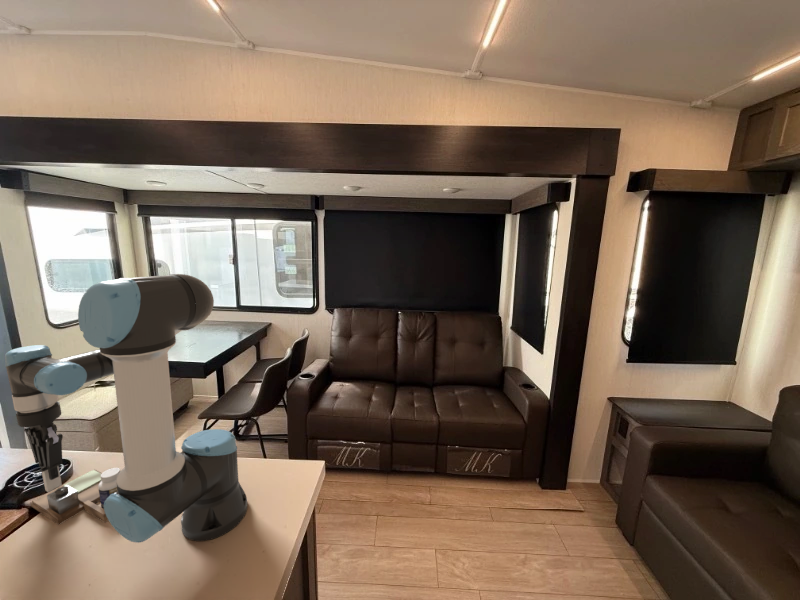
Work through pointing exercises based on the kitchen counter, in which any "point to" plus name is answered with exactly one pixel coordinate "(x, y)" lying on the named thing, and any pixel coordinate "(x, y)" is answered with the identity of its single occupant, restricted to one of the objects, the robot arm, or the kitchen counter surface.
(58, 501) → the latch bolt
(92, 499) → the station
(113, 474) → the pill bottle
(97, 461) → the kitchen counter surface
